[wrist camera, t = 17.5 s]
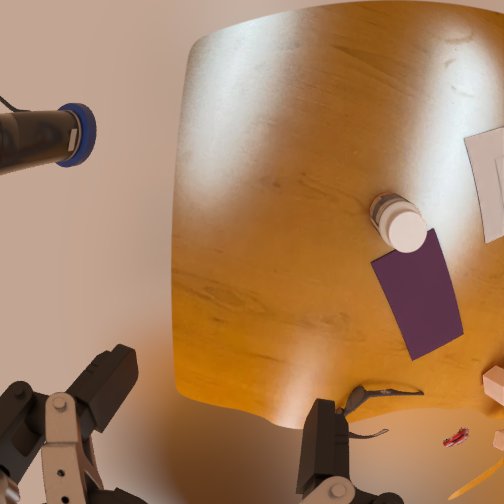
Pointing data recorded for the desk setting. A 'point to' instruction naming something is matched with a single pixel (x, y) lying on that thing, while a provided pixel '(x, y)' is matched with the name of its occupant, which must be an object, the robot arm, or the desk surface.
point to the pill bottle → (398, 222)
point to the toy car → (457, 438)
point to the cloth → (420, 296)
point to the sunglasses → (362, 395)
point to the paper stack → (489, 179)
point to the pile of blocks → (495, 397)
